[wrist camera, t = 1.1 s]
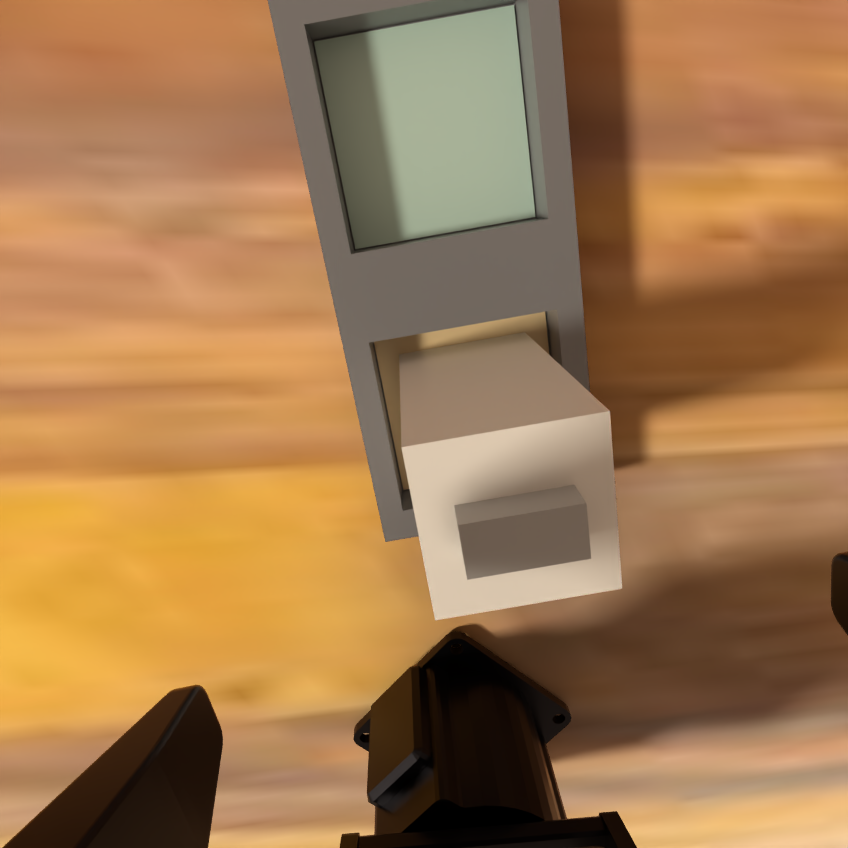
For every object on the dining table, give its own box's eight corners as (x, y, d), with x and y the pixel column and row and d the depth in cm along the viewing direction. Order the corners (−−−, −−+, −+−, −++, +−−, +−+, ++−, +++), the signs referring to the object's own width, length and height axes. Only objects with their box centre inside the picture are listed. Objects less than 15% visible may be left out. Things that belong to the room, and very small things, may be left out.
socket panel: (580, 484, 22) (599, 511, 20) (387, 517, 22) (387, 548, 20) (532, -49, 16) (551, -85, 14) (277, -1, 16) (260, -31, 14)
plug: (538, 448, 20) (636, 612, 12) (420, 469, 20) (438, 645, 12) (524, 332, 19) (624, 425, 11) (398, 354, 19) (402, 464, 11)
